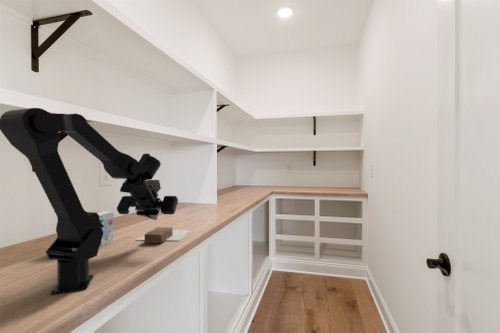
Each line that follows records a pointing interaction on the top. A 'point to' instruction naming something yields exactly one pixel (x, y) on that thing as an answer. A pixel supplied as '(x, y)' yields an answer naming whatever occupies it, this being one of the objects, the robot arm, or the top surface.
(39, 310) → the top surface
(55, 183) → the robot arm
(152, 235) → the walnut block
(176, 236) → the mat
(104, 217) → the light bulb box
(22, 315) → the top surface
